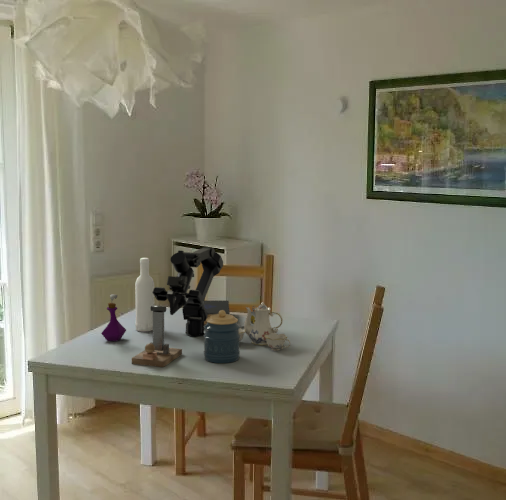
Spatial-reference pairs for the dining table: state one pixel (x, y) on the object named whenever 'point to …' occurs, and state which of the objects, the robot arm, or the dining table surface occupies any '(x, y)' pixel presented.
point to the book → (216, 307)
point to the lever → (158, 326)
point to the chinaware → (263, 329)
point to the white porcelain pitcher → (253, 316)
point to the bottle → (144, 298)
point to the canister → (221, 338)
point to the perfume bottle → (113, 324)
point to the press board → (159, 358)
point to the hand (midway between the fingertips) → (171, 314)
